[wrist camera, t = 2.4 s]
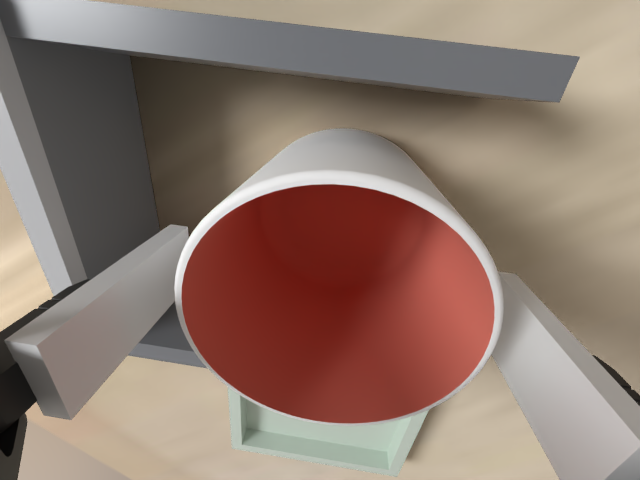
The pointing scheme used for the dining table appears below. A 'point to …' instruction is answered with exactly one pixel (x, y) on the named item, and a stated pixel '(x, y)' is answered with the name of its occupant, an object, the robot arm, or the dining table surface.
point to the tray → (322, 438)
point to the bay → (125, 123)
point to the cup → (339, 286)
